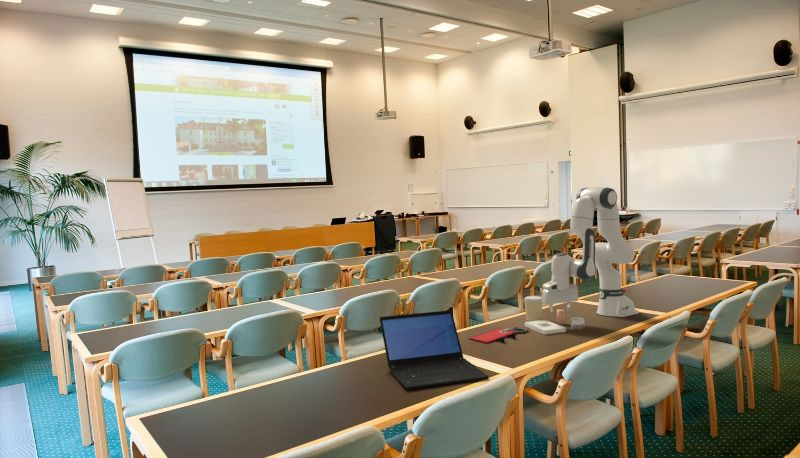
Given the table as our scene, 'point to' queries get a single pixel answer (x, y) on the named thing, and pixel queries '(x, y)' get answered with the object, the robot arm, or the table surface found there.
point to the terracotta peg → (560, 316)
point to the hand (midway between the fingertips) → (560, 311)
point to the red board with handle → (497, 335)
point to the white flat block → (545, 327)
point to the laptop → (426, 350)
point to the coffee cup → (533, 308)
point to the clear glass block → (577, 323)
